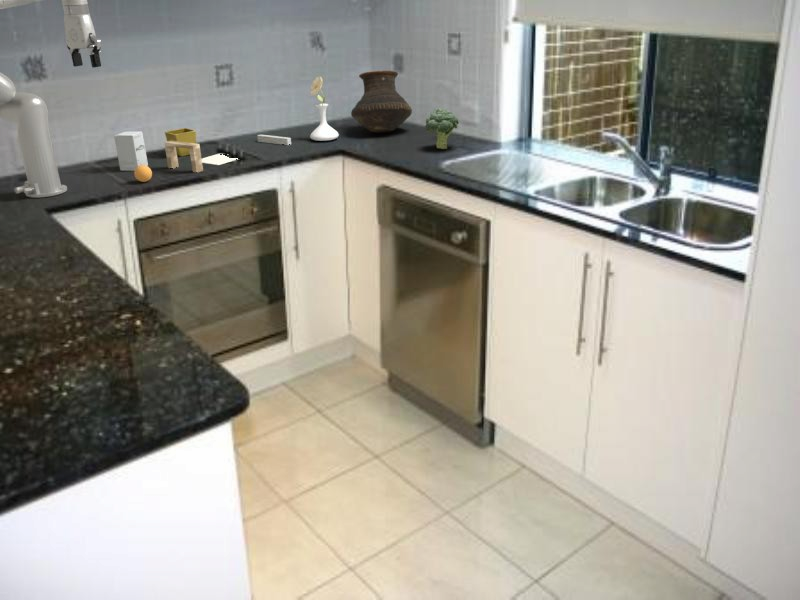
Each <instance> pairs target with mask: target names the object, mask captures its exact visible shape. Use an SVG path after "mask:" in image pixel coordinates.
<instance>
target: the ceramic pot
mask: <svg viewBox="0 0 800 600" xmlns="http://www.w3.org/2000/svg"><path fill="white" fill-rule="evenodd" d="M398 75H399V73H398V72H397V71H394V70H374V71H373V70H372V71H366V72H362V73H360V74H359V76H358V78H360V79H361V80H362V83H363V92H364V93H363V95H362V96H361V98H360V100H358V101H357V103H356V104H355V106H354V107H352V109H351V112H350V114H351V116H352V118H353V119H355V121H356V122H357V123H359V125H362V126H363V127H364V128H366V130H368V131H370V132H371V133H374V134H382V133H388V132H390V133H391V132H393V131H394V130H396V129H397V128H398V127H400V126H402V125H403V123H404V122H406V120H407V119H409V117H410V116H411V115H412V111H413V109H412V107H411V106H410V105H409V103H408V102H407V101H406V100H405V98H404V97H403V96H401V94H400V93H398V91H397V90H396V78H397V77H398Z"/></svg>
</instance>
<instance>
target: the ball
mask: <svg viewBox="0 0 800 600" xmlns="http://www.w3.org/2000/svg"><path fill="white" fill-rule="evenodd" d="M133 172H134V173H133V174H134V177H135V179H136V180H137V181H139V182H141V183H146V182H148V181H149V180H151V178H152V176H153V171H152V169H151V168H150V167H149V165H148V166H146V165H140V166H138V167H137V168H136V169H135V171H133Z"/></svg>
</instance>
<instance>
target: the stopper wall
mask: <svg viewBox="0 0 800 600" xmlns="http://www.w3.org/2000/svg"><path fill="white" fill-rule="evenodd" d="M256 135H257V136H256V137H257V142H258V143H265V144H275V145H282V144H284V146H290V145H292V138H291V137H288V136H287V137H286V136H280V135H279V136H277V135H268V134H267V135H266V134H256ZM289 144H290V145H289Z"/></svg>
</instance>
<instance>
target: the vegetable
mask: <svg viewBox="0 0 800 600" xmlns="http://www.w3.org/2000/svg"><path fill="white" fill-rule="evenodd" d="M459 123H460V122H459V119H458V117H457V116H456V115H455V114H453V112H452V111H451V110H449V109H448V110H447V109H446V108H442V107H437V108H435V109H434V110H431V112H430V114H429V116H427V117H426V118H425V128H426V131H428V132H429V133H430V134H431V133H433V132H434V131H435V132H436V138H437V141H436V142H435V144H436V148H437V149H441V150H445V149H446V150H447V149H448V142H447V141H448V137H449V136H450V135H451V133H452V132H453V130H456V129H458V125H459Z"/></svg>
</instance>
